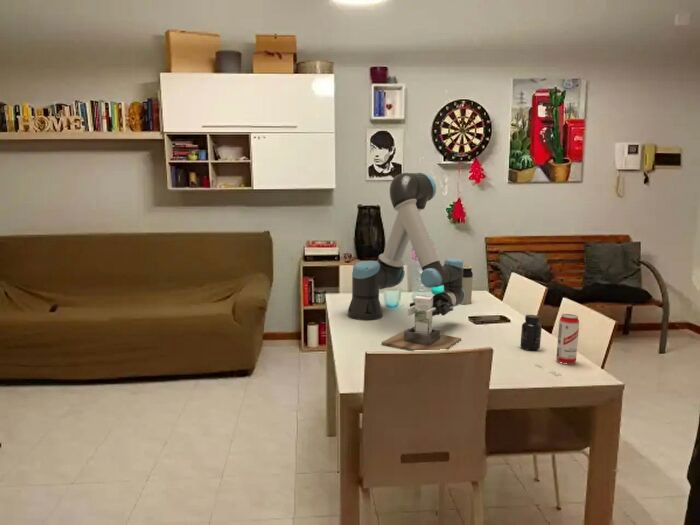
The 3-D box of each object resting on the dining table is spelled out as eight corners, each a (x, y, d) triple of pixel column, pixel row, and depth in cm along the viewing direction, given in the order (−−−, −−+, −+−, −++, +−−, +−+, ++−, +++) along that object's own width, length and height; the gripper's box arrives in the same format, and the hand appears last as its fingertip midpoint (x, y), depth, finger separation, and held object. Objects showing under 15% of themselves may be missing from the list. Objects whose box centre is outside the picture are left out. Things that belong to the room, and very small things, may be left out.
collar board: (381, 344, 203) (381, 332, 202) (408, 330, 221) (408, 319, 221) (437, 356, 191) (438, 343, 191) (461, 340, 210) (461, 329, 209)
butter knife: (557, 376, 174) (564, 375, 175) (507, 353, 196) (513, 352, 197) (557, 378, 174) (564, 376, 175) (506, 354, 196) (513, 353, 197)
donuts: (457, 288, 256) (442, 290, 250) (456, 309, 258) (441, 312, 252) (441, 284, 264) (426, 286, 258) (440, 305, 265) (425, 307, 259)
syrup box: (432, 333, 207) (433, 295, 205) (429, 337, 202) (430, 298, 200) (417, 331, 209) (418, 293, 207) (413, 335, 204) (414, 297, 201)
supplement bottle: (541, 351, 198) (543, 319, 196) (521, 350, 200) (523, 317, 198) (538, 346, 205) (541, 314, 203) (519, 344, 206) (521, 313, 204)
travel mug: (468, 305, 265) (470, 268, 262) (452, 303, 269) (454, 266, 266) (472, 302, 272) (474, 265, 270) (456, 300, 276) (458, 264, 273)
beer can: (552, 358, 191) (556, 313, 188) (570, 358, 192) (574, 313, 189) (561, 365, 185) (565, 318, 182) (579, 364, 185) (583, 318, 183)
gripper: (466, 314, 215) (443, 327, 195) (420, 307, 225) (393, 319, 206) (467, 295, 213) (443, 307, 194) (420, 289, 224) (393, 299, 205)
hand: (417, 313), depth 200 cm, fingers closed on syrup box, 7 cm apart
